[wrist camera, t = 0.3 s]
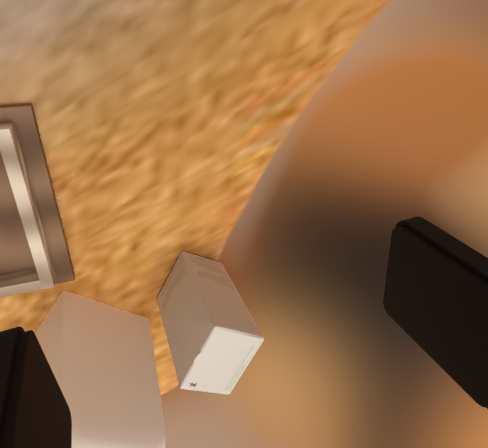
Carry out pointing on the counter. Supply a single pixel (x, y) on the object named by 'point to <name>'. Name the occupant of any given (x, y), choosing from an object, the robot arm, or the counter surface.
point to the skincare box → (206, 325)
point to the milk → (104, 373)
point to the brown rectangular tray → (28, 210)
